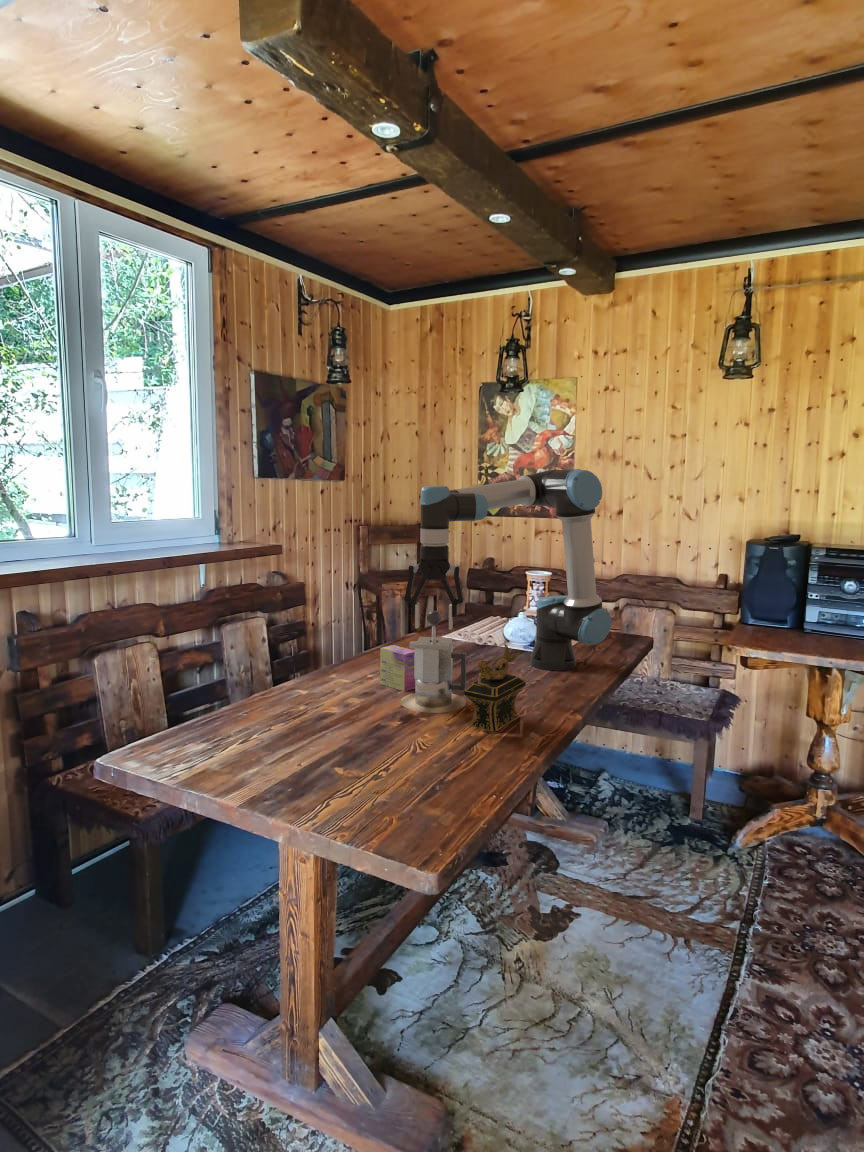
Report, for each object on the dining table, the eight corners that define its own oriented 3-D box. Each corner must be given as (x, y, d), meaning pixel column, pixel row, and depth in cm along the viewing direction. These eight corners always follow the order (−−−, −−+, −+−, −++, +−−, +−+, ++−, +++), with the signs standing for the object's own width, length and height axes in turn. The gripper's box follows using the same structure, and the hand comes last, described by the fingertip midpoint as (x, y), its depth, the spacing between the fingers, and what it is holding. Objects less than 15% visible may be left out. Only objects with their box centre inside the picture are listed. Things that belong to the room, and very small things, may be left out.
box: (418, 689, 205) (418, 650, 204) (404, 694, 201) (404, 654, 199) (393, 682, 212) (393, 644, 211) (379, 686, 208) (379, 647, 206)
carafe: (466, 697, 196) (467, 638, 193) (463, 709, 186) (464, 647, 184) (412, 694, 198) (413, 636, 195) (406, 706, 188) (407, 644, 186)
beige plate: (468, 695, 200) (468, 693, 200) (462, 717, 182) (462, 714, 182) (406, 692, 202) (406, 689, 202) (394, 713, 185) (395, 710, 185)
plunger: (441, 670, 193) (442, 609, 190) (439, 674, 189) (440, 612, 186) (427, 669, 193) (427, 609, 191) (425, 673, 189) (425, 611, 187)
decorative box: (495, 738, 168) (497, 658, 165) (461, 729, 174) (462, 652, 171) (532, 715, 185) (534, 642, 182) (500, 707, 190) (502, 637, 187)
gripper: (475, 543, 188) (474, 626, 191) (397, 542, 191) (397, 623, 194) (473, 546, 181) (471, 632, 184) (392, 545, 184) (392, 629, 187)
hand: (433, 627), depth 189 cm, fingers open, 8 cm apart
